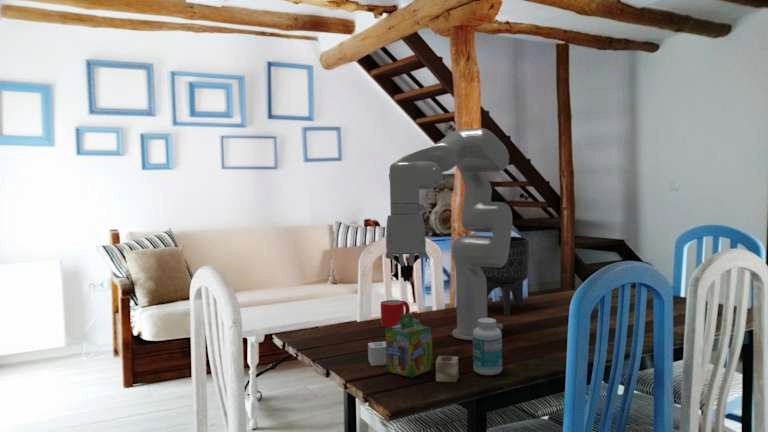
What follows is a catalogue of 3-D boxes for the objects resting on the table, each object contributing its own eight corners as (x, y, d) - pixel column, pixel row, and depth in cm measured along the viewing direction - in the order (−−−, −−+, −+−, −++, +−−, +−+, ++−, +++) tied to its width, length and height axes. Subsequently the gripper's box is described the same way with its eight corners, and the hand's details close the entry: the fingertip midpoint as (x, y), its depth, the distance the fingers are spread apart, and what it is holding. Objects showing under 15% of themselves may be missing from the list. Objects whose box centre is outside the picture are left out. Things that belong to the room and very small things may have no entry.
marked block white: (385, 358, 168) (385, 340, 167) (389, 364, 163) (389, 345, 163) (368, 360, 167) (367, 342, 166) (371, 366, 162) (371, 347, 162)
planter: (536, 315, 211) (535, 241, 209) (480, 317, 211) (478, 243, 209) (523, 303, 231) (522, 235, 229) (472, 304, 231) (471, 237, 229)
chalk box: (411, 379, 151) (410, 321, 150) (385, 371, 157) (383, 316, 156) (434, 369, 157) (433, 314, 156) (407, 362, 164) (406, 309, 163)
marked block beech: (458, 375, 152) (458, 355, 152) (456, 382, 147) (455, 361, 147) (439, 374, 153) (438, 355, 153) (436, 381, 149) (435, 361, 148)
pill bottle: (470, 367, 158) (469, 317, 157) (497, 365, 159) (496, 315, 158) (477, 377, 151) (476, 324, 150) (505, 375, 151) (505, 322, 150)
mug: (417, 322, 207) (416, 299, 207) (393, 329, 199) (392, 306, 198) (400, 318, 213) (399, 296, 212) (376, 325, 204) (375, 302, 204)
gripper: (432, 208, 158) (433, 277, 159) (375, 210, 158) (377, 279, 159) (435, 210, 150) (437, 282, 152) (376, 211, 150) (378, 284, 151)
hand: (406, 280), depth 155 cm, fingers closed
